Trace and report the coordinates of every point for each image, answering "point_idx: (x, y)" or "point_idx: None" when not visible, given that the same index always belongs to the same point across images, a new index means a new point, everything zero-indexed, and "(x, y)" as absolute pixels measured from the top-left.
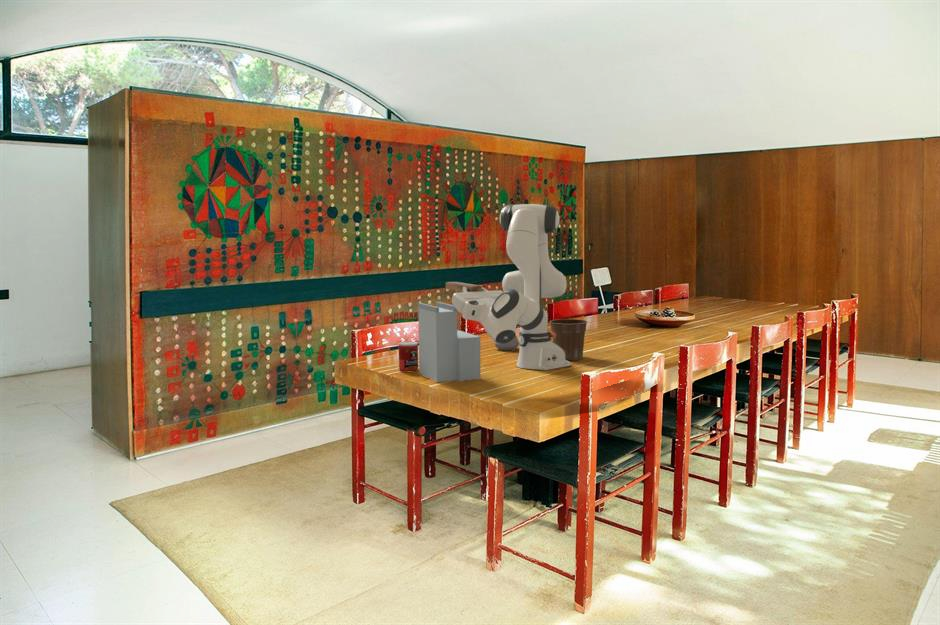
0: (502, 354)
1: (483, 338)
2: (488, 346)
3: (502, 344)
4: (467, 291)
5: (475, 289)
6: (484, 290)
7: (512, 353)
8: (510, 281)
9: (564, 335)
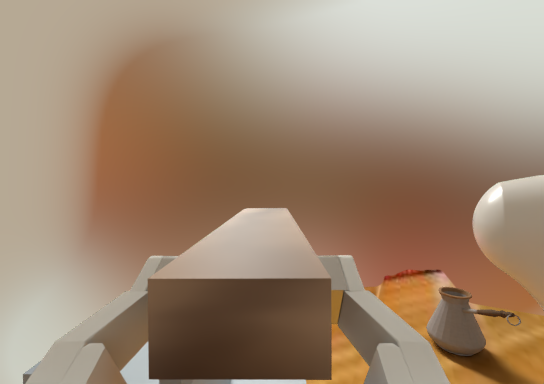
0: (450, 376)
1: (405, 290)
2: (413, 322)
3: (446, 341)
4: (97, 347)
5: (222, 326)
6: (376, 331)
7: (475, 376)
8: (528, 216)
9: None
